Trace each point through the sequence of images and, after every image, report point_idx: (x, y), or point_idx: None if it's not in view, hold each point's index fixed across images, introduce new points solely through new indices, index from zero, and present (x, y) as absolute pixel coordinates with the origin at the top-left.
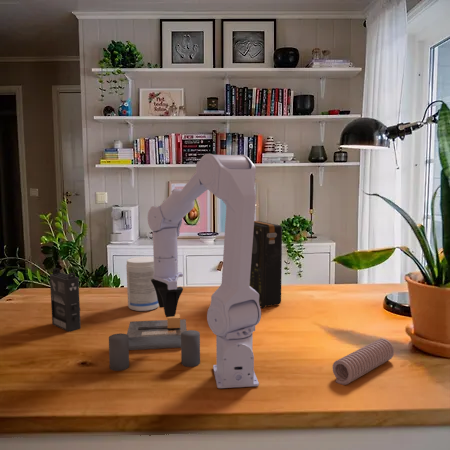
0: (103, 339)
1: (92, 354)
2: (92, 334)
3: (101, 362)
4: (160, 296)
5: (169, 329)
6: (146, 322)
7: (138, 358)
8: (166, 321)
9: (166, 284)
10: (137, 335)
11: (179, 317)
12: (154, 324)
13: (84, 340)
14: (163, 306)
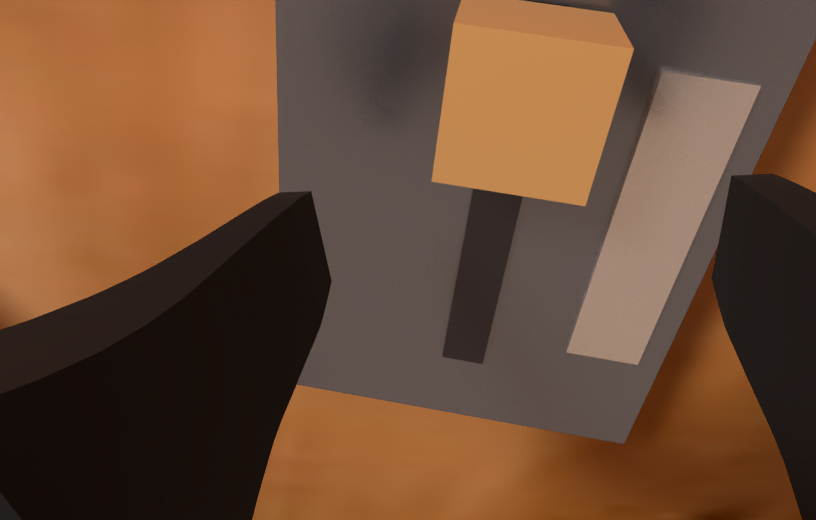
0: (389, 447)
1: (593, 502)
2: (300, 478)
3: (729, 484)
4: (275, 374)
5: None
6: None
7: None
8: (324, 123)
9: (150, 460)
10: (616, 381)
11: (616, 54)
12: (387, 237)
13: (382, 510)
14: (318, 249)
